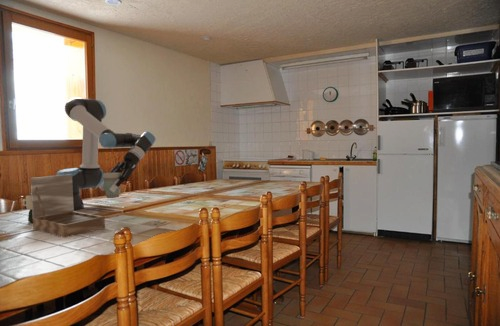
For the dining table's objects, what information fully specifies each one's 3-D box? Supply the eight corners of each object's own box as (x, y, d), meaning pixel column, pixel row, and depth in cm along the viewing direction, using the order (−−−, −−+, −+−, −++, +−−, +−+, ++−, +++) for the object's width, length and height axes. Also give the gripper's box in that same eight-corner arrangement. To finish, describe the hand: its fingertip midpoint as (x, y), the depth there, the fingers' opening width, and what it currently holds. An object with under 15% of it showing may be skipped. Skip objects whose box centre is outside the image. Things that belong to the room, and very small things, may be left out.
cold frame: (33, 229, 150) (30, 177, 149) (72, 221, 165) (70, 174, 164) (64, 237, 136) (61, 180, 135) (105, 227, 151) (102, 176, 150)
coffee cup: (125, 196, 169) (124, 172, 168) (110, 199, 162) (109, 174, 161) (114, 195, 174) (114, 172, 173) (99, 197, 167) (98, 173, 166)
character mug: (50, 219, 169) (49, 193, 169) (44, 222, 162) (43, 196, 162) (27, 220, 168) (25, 194, 167) (20, 224, 161) (18, 197, 160)
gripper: (117, 150, 181) (89, 183, 169) (141, 151, 168) (113, 187, 156) (126, 160, 185) (100, 192, 174) (151, 161, 173) (123, 196, 161)
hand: (106, 190), depth 165 cm, fingers closed on coffee cup, 8 cm apart
